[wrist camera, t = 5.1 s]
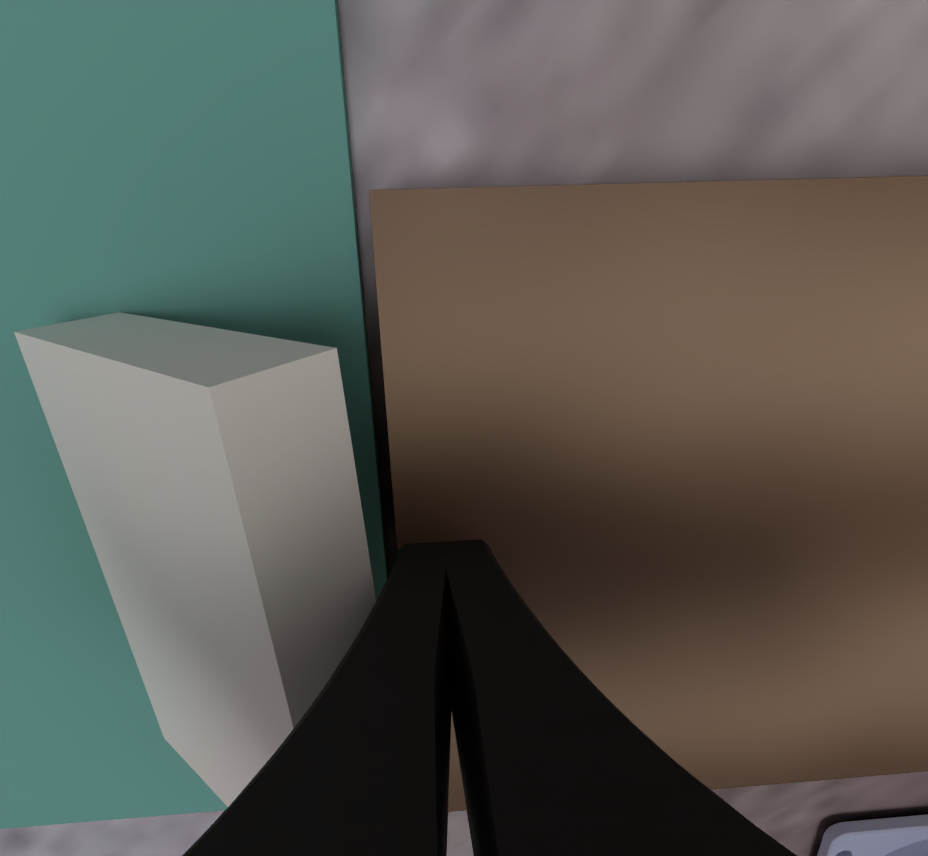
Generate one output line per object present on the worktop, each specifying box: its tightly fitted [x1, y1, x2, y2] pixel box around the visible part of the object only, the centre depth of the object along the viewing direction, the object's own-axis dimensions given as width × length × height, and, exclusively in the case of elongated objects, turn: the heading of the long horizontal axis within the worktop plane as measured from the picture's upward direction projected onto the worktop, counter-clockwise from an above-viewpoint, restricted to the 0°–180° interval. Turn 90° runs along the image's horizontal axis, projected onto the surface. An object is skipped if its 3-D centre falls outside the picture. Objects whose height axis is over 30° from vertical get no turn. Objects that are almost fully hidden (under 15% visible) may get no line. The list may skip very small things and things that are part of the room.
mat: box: [0, 0, 388, 829], centre depth 12 cm, size 18×15×1 cm
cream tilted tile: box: [14, 312, 376, 807], centre depth 10 cm, size 9×6×2 cm
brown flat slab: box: [369, 176, 928, 812], centre depth 11 cm, size 12×12×3 cm
